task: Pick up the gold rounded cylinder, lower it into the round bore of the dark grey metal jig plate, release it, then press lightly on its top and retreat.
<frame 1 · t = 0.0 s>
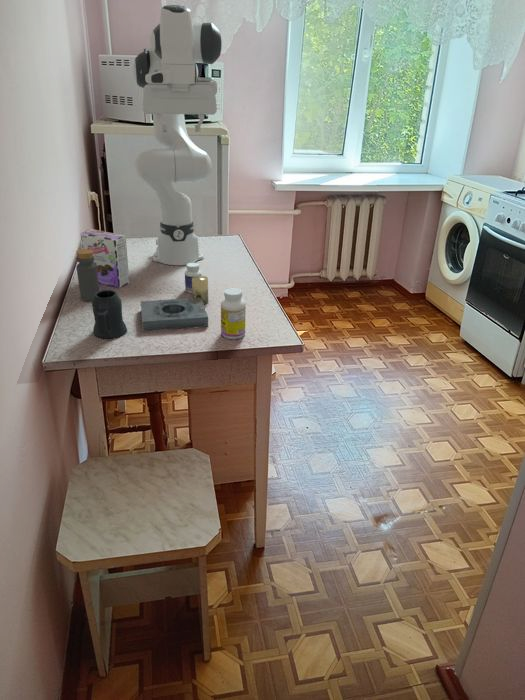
hand: (180, 131, 149), 48 cm above the table, fingers open, 8 cm apart
dark grey flared cylinder: (109, 334, 144), on the table
gold rounded cylinder: (200, 302, 164), on the table
supplement bottle: (233, 335, 146), on the table
bottle: (90, 298, 165), on the table
candy box: (108, 282, 177), on the table
pill bottle: (193, 291, 173), on the table
jig: (174, 318, 154), on the table
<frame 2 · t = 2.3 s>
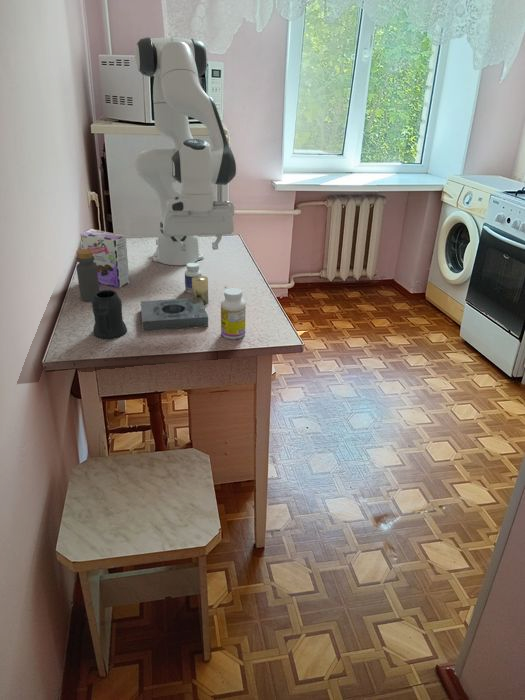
hand: (199, 249, 156), 17 cm above the table, fingers open, 8 cm apart
nothing on the table moved.
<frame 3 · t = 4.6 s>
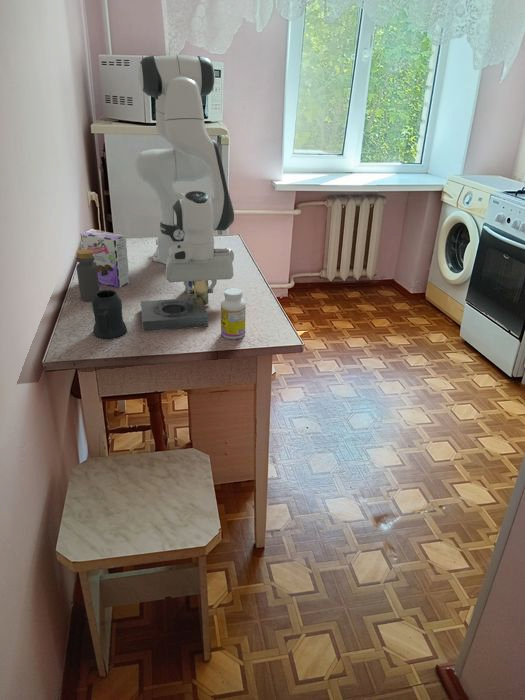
hand: (200, 293, 163), 3 cm above the table, fingers closed on gold rounded cylinder, 5 cm apart
gold rounded cylinder: (200, 302, 164), on the table, touching gripper
everything else where it was.
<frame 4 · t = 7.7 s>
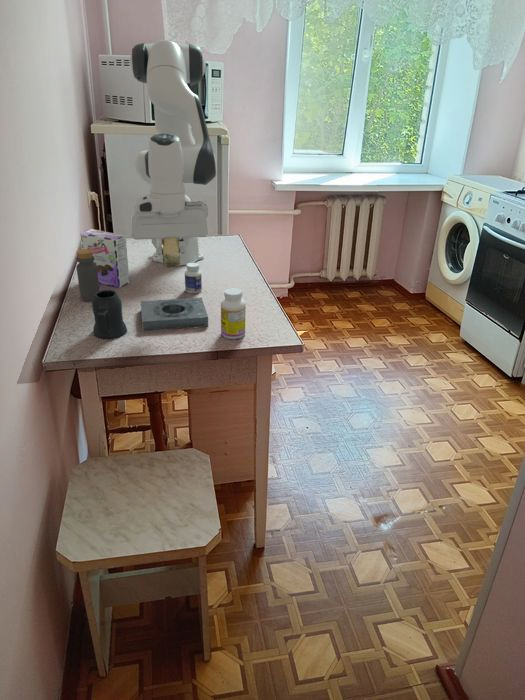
hand: (170, 253, 144), 19 cm above the table, fingers closed on gold rounded cylinder, 5 cm apart
gold rounded cylinder: (171, 264, 146), point 16 cm above the table, touching gripper
everything else where it was.
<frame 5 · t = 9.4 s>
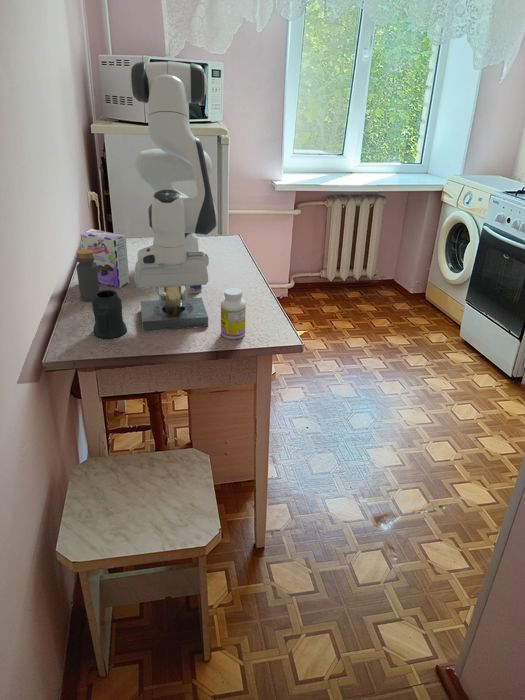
hand: (173, 300, 151), 6 cm above the table, fingers closed on gold rounded cylinder, 5 cm apart
gold rounded cylinder: (173, 310, 152), point 3 cm above the table, touching gripper
everything else where it was.
when the fingers open (4 cm above the table, at t = 10.8 s): gold rounded cylinder stays where it is, resting in jig.
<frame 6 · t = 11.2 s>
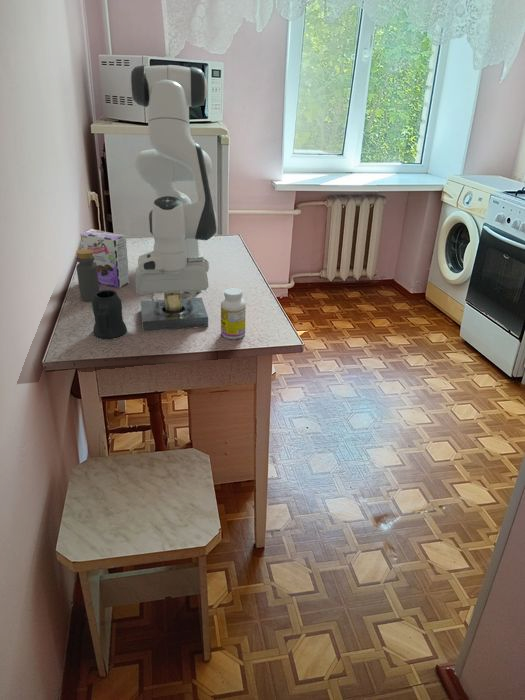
hand: (173, 305, 152), 4 cm above the table, fingers open, 8 cm apart
gold rounded cylinder: (174, 318, 154), resting in jig
everything else where it was.
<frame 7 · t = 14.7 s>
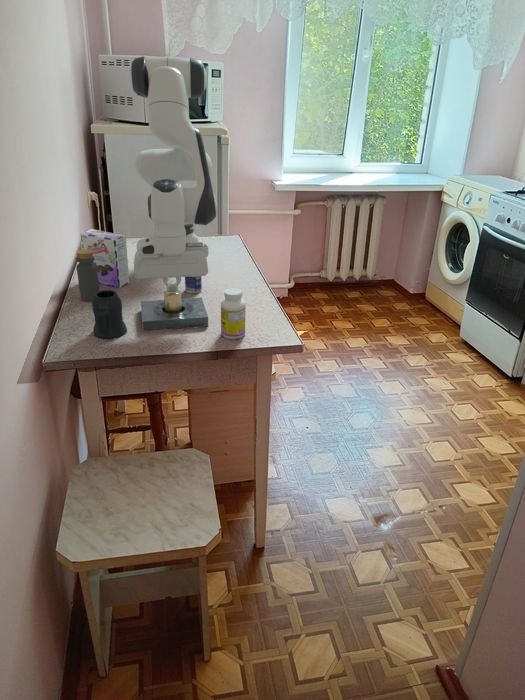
hand: (172, 291, 150), 8 cm above the table, fingers closed
nothing on the table moved.
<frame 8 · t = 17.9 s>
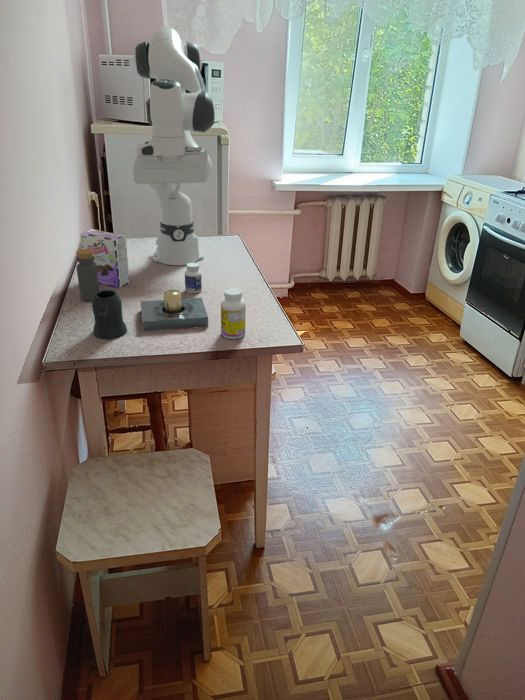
hand: (171, 199, 150), 31 cm above the table, fingers closed
nothing on the table moved.
at the end: gold rounded cylinder 0.0 cm off-centre in the jig, point 0.0 cm above the jig's base; gold rounded cylinder tilted 1°; the gripper is holding nothing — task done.
